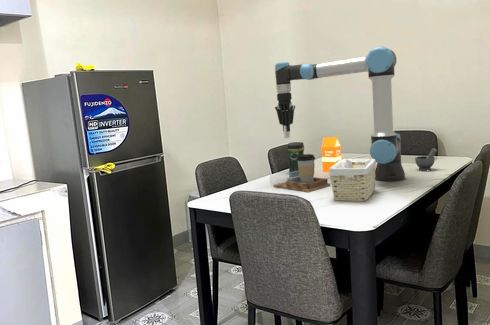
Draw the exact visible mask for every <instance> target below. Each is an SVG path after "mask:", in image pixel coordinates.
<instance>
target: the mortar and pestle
mask: <svg viewBox="0 0 490 325" xmlns="http://www.w3.org/2000/svg"><path fill="white" fill-rule="evenodd" d="M437 151H438V150H437V149H436V148H435V147H434V148H433V147H432V148H431V151H430V152H429V153H428V155H426V156H425V155H422V156H416V157H414V161H415V164H416V165H417V167H418V171H419V170H421V171H420V172H428V171H427V170H430V171H432V166H434V164H435V155H436V153H437Z"/></svg>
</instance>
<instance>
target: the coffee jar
mask: <svg viewBox="0 0 490 325" xmlns="http://www.w3.org/2000/svg"><path fill="white" fill-rule="evenodd" d="M304 151H305V144H304V142H302V141H301V142H300V141H296V142H295V141H294V142H289V143H288V144H287V152H288V157H289V160H288V161H289V164H288V171H289V172H288V174H289V173H290V172H294V171H298V170H299V169H298V161H297V160H296V158H297V156H298V155H304Z"/></svg>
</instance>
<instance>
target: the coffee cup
mask: <svg viewBox="0 0 490 325" xmlns="http://www.w3.org/2000/svg"><path fill="white" fill-rule="evenodd" d="M296 160H297V161H298V169H299V175H300V179H301V183H307V184H308V183H312V182H314V177H315V166H316V165H315V160H316V157H315V154H312V153H311V154H310V153H308V154H307V153H306V154H304V155H298V156H297V158H296Z"/></svg>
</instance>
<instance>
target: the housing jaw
mask: <svg viewBox="0 0 490 325" xmlns="http://www.w3.org/2000/svg"><path fill="white" fill-rule="evenodd" d="M286 181H292V182H300V183H301V179H300V175H299V170H298V171H294V172H290V173H289V172H288V177H287V178H286Z"/></svg>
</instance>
